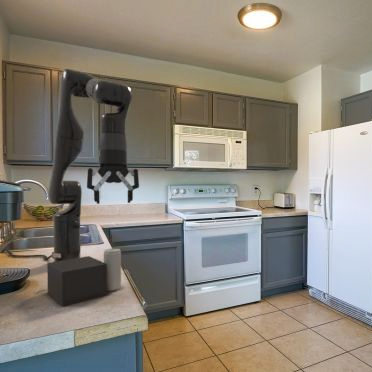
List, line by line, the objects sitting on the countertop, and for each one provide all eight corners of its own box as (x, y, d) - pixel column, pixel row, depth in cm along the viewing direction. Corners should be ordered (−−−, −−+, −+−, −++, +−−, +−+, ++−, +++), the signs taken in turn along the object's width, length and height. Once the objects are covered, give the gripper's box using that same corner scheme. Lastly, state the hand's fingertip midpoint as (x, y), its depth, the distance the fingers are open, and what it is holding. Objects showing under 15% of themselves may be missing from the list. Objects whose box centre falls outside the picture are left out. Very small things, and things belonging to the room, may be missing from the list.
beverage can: (123, 286, 99) (123, 248, 99) (117, 291, 94) (117, 251, 94) (107, 286, 99) (107, 248, 99) (101, 291, 94) (100, 251, 94)
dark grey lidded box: (47, 293, 92) (47, 262, 92) (89, 284, 101) (89, 256, 101) (62, 306, 83) (61, 272, 83) (106, 294, 91) (106, 263, 91)
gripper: (137, 151, 101) (137, 201, 101) (87, 149, 95) (88, 203, 95) (139, 149, 94) (139, 203, 94) (85, 147, 88) (86, 204, 88)
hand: (113, 203), depth 95 cm, fingers open, 8 cm apart
